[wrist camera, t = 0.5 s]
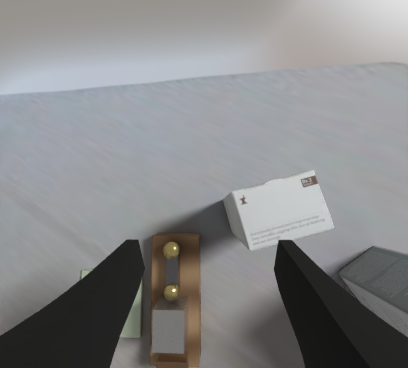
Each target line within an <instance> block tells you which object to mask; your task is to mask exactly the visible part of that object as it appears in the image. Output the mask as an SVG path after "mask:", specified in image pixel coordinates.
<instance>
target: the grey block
mask: <svg viewBox="0 0 408 368" xmlns="http://www.w3.org/2000/svg"><path fill="white" fill-rule="evenodd" d="M188 333H189V299H188V296H177V297H176V298H175V299H174V300H171V301H170V300H167V299H166V298H165V296H164V295H161V297H160V298H159V300H158V302H157V303H156V305H155V307H154V308H153V320H152V352H153V353H179V354H184V351H185V347H186V342H187V337H188Z"/></svg>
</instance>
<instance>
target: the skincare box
mask: <svg viewBox="0 0 408 368" xmlns="http://www.w3.org/2000/svg"><path fill="white" fill-rule="evenodd" d="M223 202H224V205H225V209H226V213H227V216H228V220H229V224H230V227H231V231H232V233H233V234H234V235H235V236H236V237H237V238H238V239H239V240H240V241H241V242H242V243H243V244H244V245H245V246H246V247H247V248H248V249H249V250H250V251H254V250H258V249H262V248H266V247H270V246H274V245H277V244H278V240H292V241H293V240H296V239H300V238H303V237H307V236H310V235H314V234H318V233H321V232H324V231H328V230H331V229H334V225H333V222H332V219H331V216H330V214H329V211H328V208H327V206H326V203H325V200H324V197H323V195H322V192H321V189H320V186H319V184H318V181H317V178H316V175H315V172H314V170H310V171H307V172H303V173H300V174H296V175H293V176H289V177H285V178H282V179H274V180H270V181H268V182H266V183H263V184H260V185H256V186H253V187H249V188H245V189H240V190H235V191H232V192H231V193H230V194H229V195H227V196H226V197H225V198H224V199H223Z"/></svg>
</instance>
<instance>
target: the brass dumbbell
mask: <svg viewBox="0 0 408 368" xmlns="http://www.w3.org/2000/svg"><path fill="white" fill-rule="evenodd" d="M163 253H164V255H165V257H166V289H165V290H164V296H165V298H166V299H167V300H170V301H171V300H174V299H175V298H176V297H177V295H178V293H179V290H180V243H176V242H173V241H172V242H168V243H167V244H166V245H165V246H164V248H163Z"/></svg>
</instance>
